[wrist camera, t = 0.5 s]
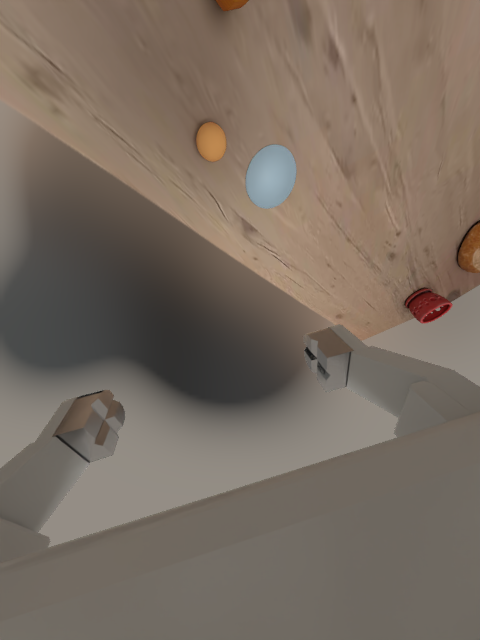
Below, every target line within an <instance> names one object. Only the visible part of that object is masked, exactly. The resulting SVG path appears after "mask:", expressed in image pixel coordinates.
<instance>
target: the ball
mask: <svg viewBox="0 0 480 640" xmlns="http://www.w3.org/2000/svg"><path fill="white" fill-rule="evenodd" d="M196 142H197V147H198V150H199V152H200V154H201V155H202V157H203V158H205V159H206V160H208V161H211V162H214V161H218V160H219V159H221V158H222V156H223V155H224V153H225V150H226V137H225V134H224V132H223V130H222V128H221V127H220V126H219V125H217V124H216V123H213V122H207V123H205V124H203V125H202V126H201V127H200V129H199V130H198V133H197V138H196Z"/></svg>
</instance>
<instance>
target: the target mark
mask: <svg viewBox="0 0 480 640" xmlns="http://www.w3.org/2000/svg"><path fill="white" fill-rule="evenodd" d="M295 179H296V163H295V160H294V157H293V155H292V154H291V152H290V151H289V150H288V149H287V148H285V147H284V146H281V145H269V146H266V147H264V148H262V149H261V150H260V151H259V152H258V153H257V154H256V155H255V156H254V157H253V159H252V160H251V162H250V164H249V167H248V170H247V174H246V189H247V193H248V196H249V198H250V199H251V201H252V202H253V203H254V204H255V205H257V206H259V207H261V208H273V207H276V206H278V205H279V204H281V203H282V202H283V201H284V200H285V199H286V198H287V197H288V196H289V194H290V192H291V191H292V189H293V186H294V183H295Z"/></svg>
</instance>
